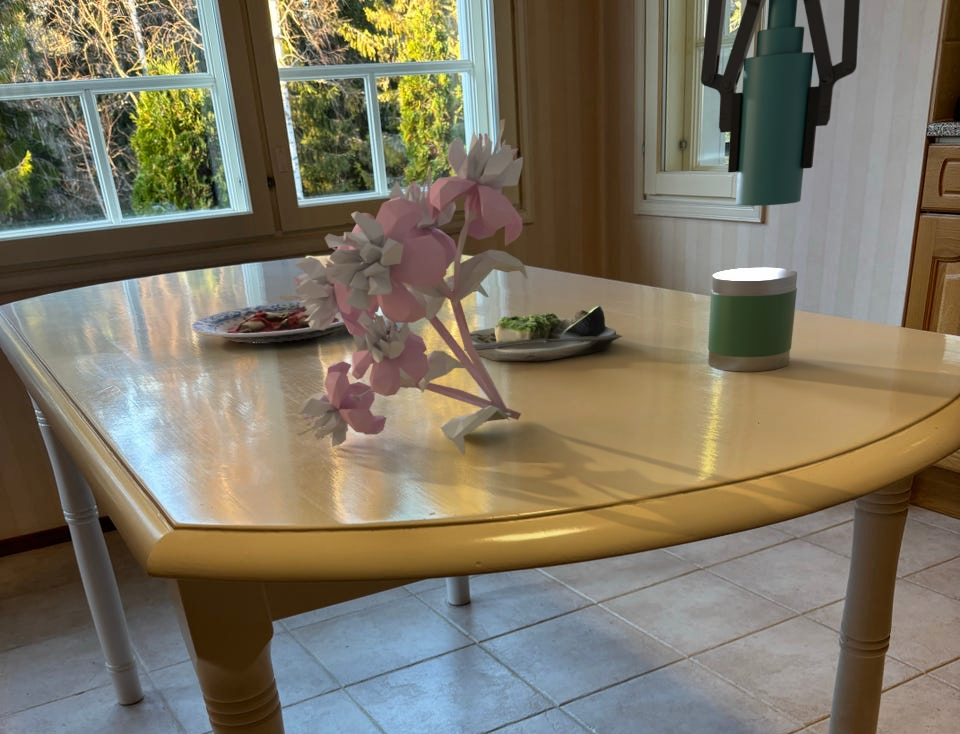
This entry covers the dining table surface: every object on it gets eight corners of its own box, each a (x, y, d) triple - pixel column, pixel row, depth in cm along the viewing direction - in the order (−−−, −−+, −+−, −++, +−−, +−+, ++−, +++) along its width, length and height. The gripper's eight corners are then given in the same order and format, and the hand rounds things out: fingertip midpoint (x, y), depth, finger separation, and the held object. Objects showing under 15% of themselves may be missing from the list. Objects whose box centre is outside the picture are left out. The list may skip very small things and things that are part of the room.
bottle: (802, 198, 90) (824, -41, 81) (798, 204, 86) (821, -50, 76) (739, 201, 92) (754, -32, 83) (731, 206, 88) (746, -40, 78)
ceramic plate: (363, 344, 123) (360, 320, 121) (171, 356, 124) (166, 333, 122) (381, 310, 145) (379, 290, 144) (219, 321, 146) (215, 301, 145)
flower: (418, 374, 98) (298, 142, 81) (609, 366, 86) (516, 90, 68) (322, 509, 89) (164, 280, 72) (520, 522, 77) (387, 249, 59)
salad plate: (499, 376, 102) (497, 332, 100) (428, 351, 116) (425, 313, 113) (641, 348, 109) (642, 307, 107) (558, 328, 123) (557, 292, 121)
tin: (793, 354, 102) (801, 267, 98) (785, 372, 95) (794, 280, 91) (713, 353, 105) (718, 268, 101) (701, 371, 98) (705, 281, 94)
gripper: (670, -134, 77) (662, 177, 88) (921, -175, 70) (878, 166, 81) (685, -117, 83) (676, 172, 94) (917, -154, 76) (878, 161, 88)
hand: (770, 169), depth 88 cm, fingers closed on bottle, 6 cm apart
